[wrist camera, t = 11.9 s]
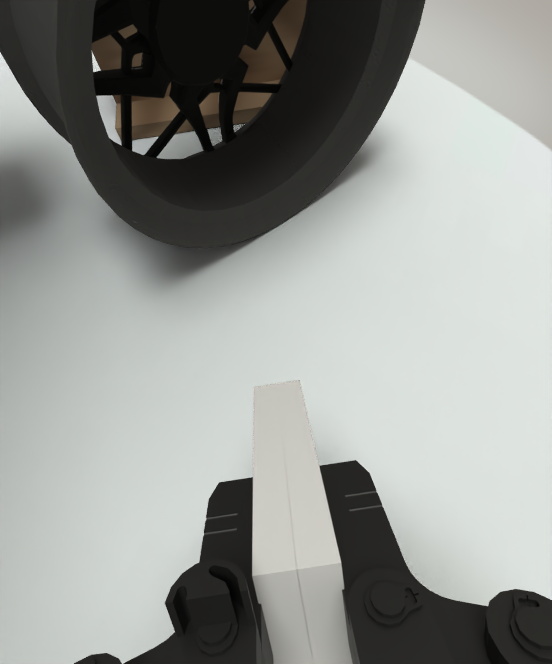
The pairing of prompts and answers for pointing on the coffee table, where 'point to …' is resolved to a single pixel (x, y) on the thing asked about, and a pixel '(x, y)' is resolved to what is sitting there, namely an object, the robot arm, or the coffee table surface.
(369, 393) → the coffee table surface
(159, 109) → the stop board
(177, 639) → the robot arm
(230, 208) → the wheel rim
